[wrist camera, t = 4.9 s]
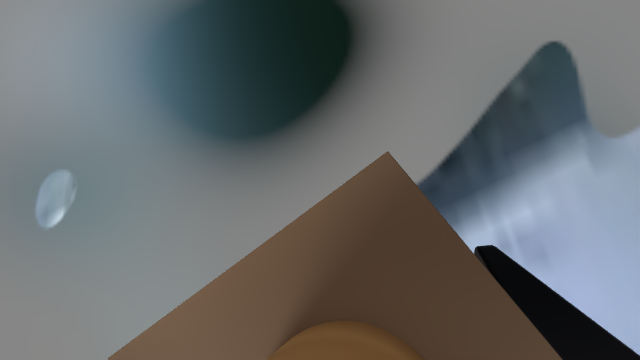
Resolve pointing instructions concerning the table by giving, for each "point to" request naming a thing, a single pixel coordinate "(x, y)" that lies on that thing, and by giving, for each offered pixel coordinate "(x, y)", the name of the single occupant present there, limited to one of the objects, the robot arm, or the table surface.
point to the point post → (352, 290)
